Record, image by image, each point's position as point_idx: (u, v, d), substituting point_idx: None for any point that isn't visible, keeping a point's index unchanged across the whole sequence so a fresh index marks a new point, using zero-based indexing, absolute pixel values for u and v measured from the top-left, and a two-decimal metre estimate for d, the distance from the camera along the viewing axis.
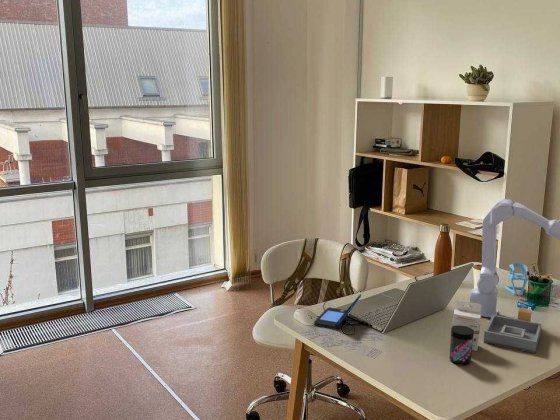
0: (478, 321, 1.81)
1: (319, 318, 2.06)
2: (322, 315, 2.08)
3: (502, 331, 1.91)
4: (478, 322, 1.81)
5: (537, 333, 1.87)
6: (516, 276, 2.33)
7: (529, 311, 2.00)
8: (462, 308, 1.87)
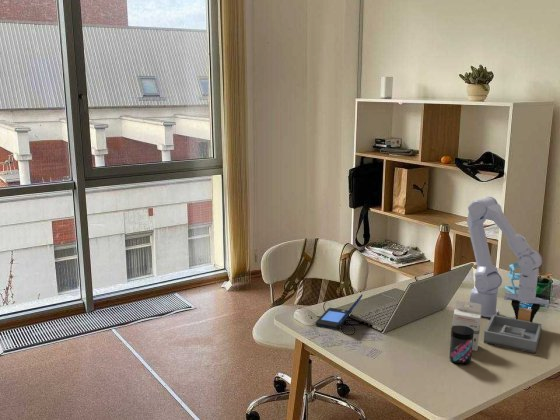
0: (478, 321, 1.81)
1: (320, 318, 2.05)
2: (323, 315, 2.08)
3: (502, 331, 1.91)
4: (478, 322, 1.81)
5: (537, 333, 1.87)
6: (516, 276, 2.33)
7: (529, 311, 2.00)
8: (462, 308, 1.87)
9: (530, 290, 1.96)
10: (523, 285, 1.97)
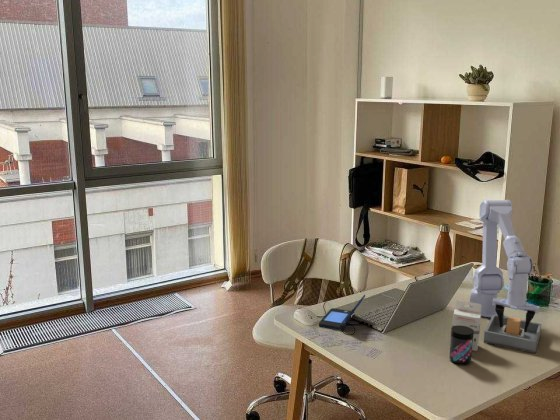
0: (478, 321, 1.81)
1: (323, 319, 2.05)
2: (326, 316, 2.07)
3: (502, 331, 1.91)
4: (478, 322, 1.81)
5: (537, 333, 1.87)
6: None
7: (518, 320, 1.90)
8: (462, 308, 1.87)
9: (519, 295, 1.86)
10: (508, 288, 1.88)
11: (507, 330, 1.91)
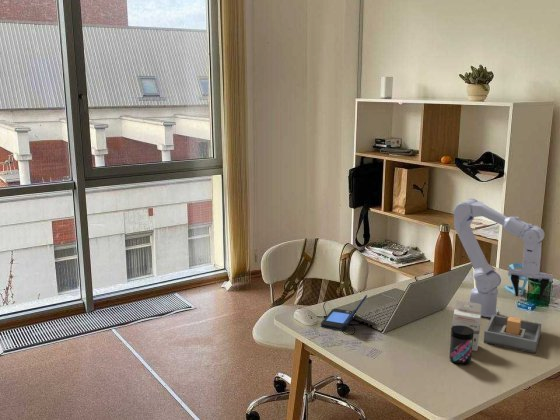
0: (478, 321, 1.81)
1: (325, 319, 2.04)
2: (328, 316, 2.07)
3: (502, 331, 1.91)
4: (478, 322, 1.81)
5: (537, 333, 1.87)
6: None
7: (518, 320, 1.90)
8: (462, 308, 1.87)
9: (534, 264, 1.96)
10: (528, 260, 1.97)
11: (507, 330, 1.91)
